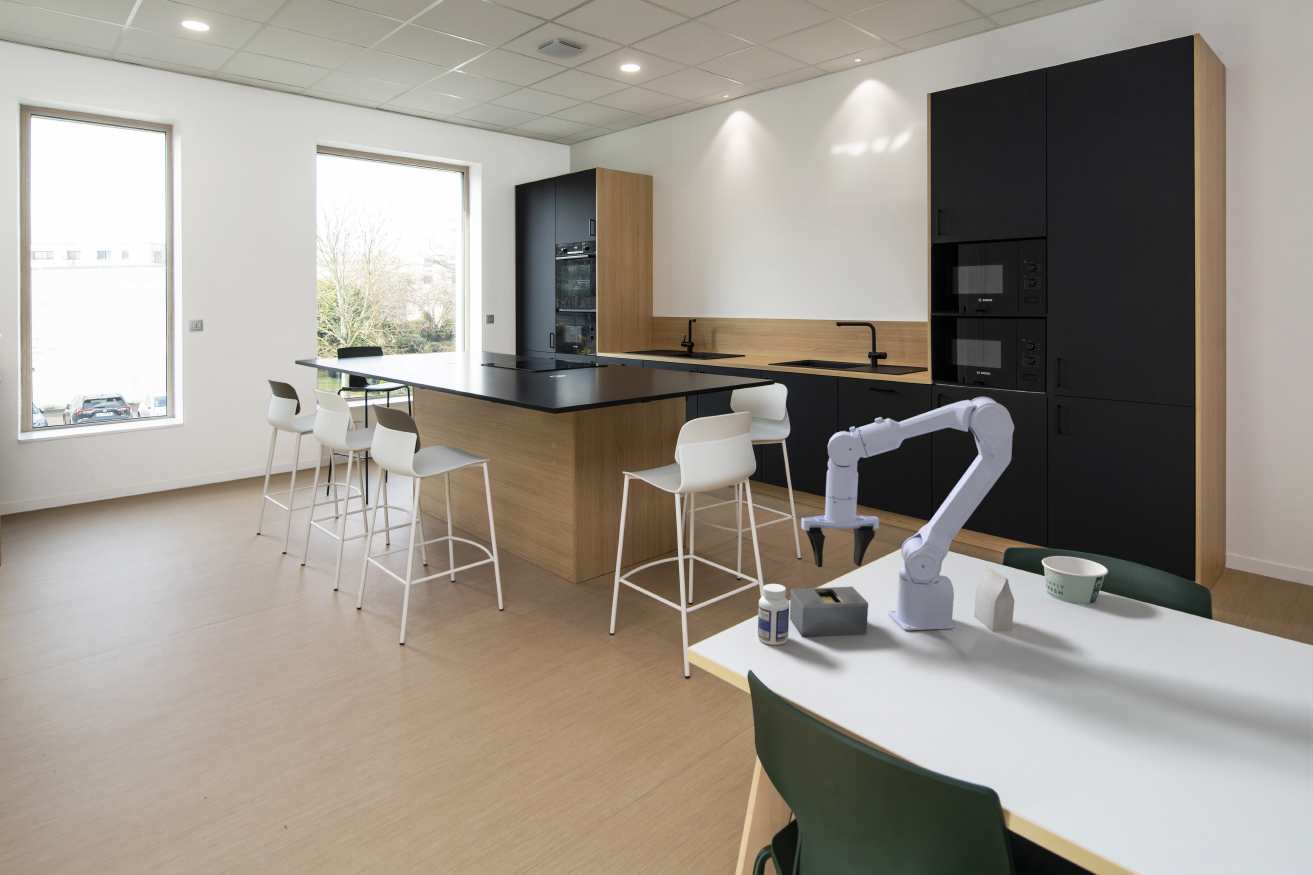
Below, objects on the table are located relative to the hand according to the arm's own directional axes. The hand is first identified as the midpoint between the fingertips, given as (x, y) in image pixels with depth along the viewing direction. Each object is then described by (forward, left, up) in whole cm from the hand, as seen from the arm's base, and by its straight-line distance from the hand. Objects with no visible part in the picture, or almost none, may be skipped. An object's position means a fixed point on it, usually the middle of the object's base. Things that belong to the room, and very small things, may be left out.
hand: (838, 564), depth 145 cm
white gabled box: (-28, +7, -10) cm, 31 cm away
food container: (-52, -5, -10) cm, 53 cm away
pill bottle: (+15, +10, -10) cm, 21 cm away
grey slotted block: (+4, +6, -10) cm, 12 cm away
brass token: (+3, +6, -10) cm, 12 cm away
